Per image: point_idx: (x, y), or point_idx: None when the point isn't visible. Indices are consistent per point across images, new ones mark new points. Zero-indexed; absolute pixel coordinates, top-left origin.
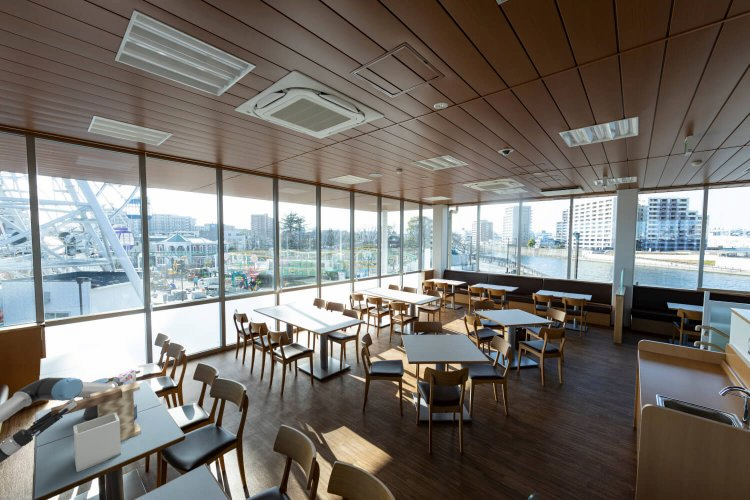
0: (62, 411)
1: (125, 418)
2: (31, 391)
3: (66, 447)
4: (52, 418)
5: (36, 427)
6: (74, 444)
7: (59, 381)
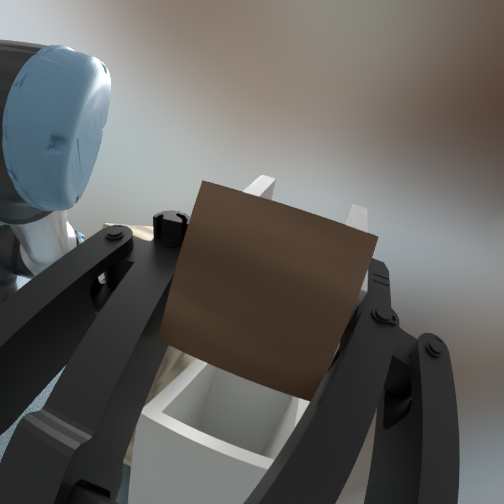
0: (384, 289)
1: (190, 361)
2: None
3: (6, 436)
4: (434, 383)
5: None
6: (164, 494)
7: (65, 47)
